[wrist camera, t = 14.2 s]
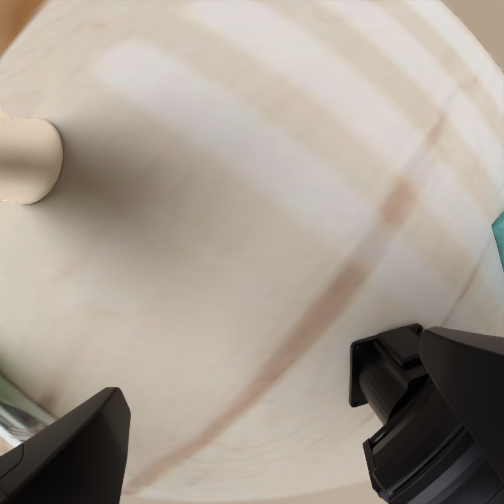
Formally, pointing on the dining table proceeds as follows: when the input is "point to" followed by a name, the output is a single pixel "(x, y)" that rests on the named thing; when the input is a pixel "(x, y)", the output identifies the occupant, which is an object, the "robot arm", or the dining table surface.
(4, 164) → the beer glass
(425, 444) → the robot arm
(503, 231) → the teal tray
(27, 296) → the dining table surface
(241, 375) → the dining table surface
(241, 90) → the dining table surface
